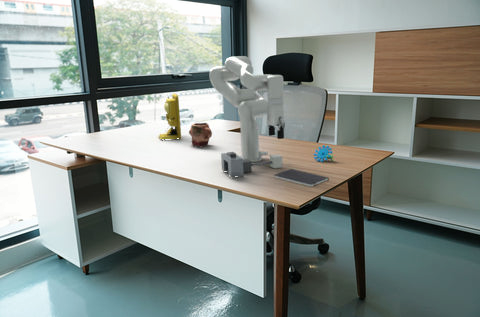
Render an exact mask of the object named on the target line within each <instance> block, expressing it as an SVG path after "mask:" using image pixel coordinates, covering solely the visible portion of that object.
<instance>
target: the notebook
mask: <svg viewBox="0 0 480 317" xmlns="http://www.w3.org/2000/svg"><path fill="white" fill-rule="evenodd" d="M273 176H274V178H277V179H280V180H283V181H288V182H292V183H295V184H300V185H304V186H307V187H314V186H316V185H318V184H321V183H323V182H326V181H329V180H330V178H329V177H328V176H324V175H319V174H316V173H315V174H314V173H310V172H307V171H302V170H297V169H293V168H290V169H289V168H288V169H287V170H283V171H281V172H278V173H275V174H274V175H273Z"/></svg>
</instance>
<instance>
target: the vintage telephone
mask: <svg viewBox="0 0 480 317" xmlns="http://www.w3.org/2000/svg"><path fill="white" fill-rule="evenodd" d="M171 96H172V97H171V98H170V97H169V96H168V97H167V98H166V99H165V103H164V106H163V107H164V111H165V113H166V114H165V120H166V121H167V124H168V125H169V126H168V127H170V128H169V129H167V130H166V132H165V133H160V134H159V135H158V136H159V137H160V138H159V137H158V138H159V140H160V139H175V140H180V139H181V140H182V132H181V131H182V130H181V127H182V126H181V117H180V116H181V115H180V102H179V101H180V100H179V95H178V94H176V93H172V95H171ZM177 138H179V139H177Z"/></svg>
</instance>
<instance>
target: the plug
mask: <svg viewBox="0 0 480 317" xmlns="http://www.w3.org/2000/svg"><path fill="white" fill-rule="evenodd" d="M264 165H269V167H271V168H273V169H278V168H279V169H280V168H283V156H282V155H280V154H279V153H278V154H269V161H262V162H261V161H259V162H253V163H251V161H250V160H249V159H245V160H243V173H249V172H252V170H253V169H252V167H256V166H264Z"/></svg>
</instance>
